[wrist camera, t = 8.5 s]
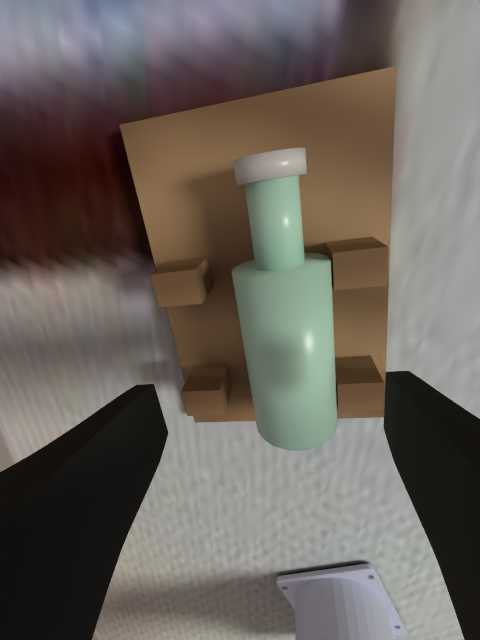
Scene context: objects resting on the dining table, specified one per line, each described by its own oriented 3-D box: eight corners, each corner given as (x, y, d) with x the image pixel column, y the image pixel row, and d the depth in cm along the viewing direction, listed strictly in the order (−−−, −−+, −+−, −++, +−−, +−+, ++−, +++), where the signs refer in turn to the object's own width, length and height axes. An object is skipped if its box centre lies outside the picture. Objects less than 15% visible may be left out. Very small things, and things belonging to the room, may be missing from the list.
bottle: (300, 386, 18) (355, 423, 15) (242, 416, 17) (289, 465, 13) (280, 159, 14) (352, 139, 10) (196, 169, 12) (251, 149, 9)
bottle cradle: (378, 405, 18) (398, 450, 15) (199, 411, 20) (183, 452, 17) (387, 74, 12) (422, 38, 9) (129, 128, 14) (87, 113, 11)
